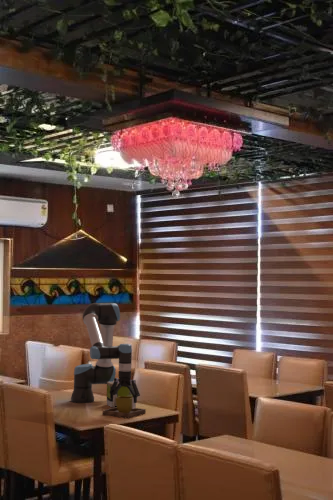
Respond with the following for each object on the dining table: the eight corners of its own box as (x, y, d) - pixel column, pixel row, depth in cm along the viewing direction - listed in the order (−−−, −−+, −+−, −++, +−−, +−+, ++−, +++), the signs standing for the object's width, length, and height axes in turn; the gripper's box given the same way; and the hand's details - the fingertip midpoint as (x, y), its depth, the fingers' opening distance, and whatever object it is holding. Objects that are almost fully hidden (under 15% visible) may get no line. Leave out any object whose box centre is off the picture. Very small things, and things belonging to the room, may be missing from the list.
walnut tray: (102, 414, 388) (102, 410, 388) (120, 410, 403) (120, 406, 403) (127, 418, 378) (128, 413, 378) (145, 413, 393) (145, 409, 394)
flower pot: (115, 413, 387) (115, 397, 388) (120, 411, 396) (120, 395, 396) (129, 414, 385) (129, 398, 386) (134, 412, 393) (134, 396, 394)
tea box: (129, 403, 426) (129, 380, 427) (133, 406, 417) (133, 382, 418) (106, 404, 422) (106, 381, 422) (109, 407, 412) (110, 383, 413)
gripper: (104, 369, 395) (103, 405, 394) (138, 372, 382) (138, 410, 381) (111, 368, 402) (111, 404, 400) (146, 371, 389) (145, 408, 387)
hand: (124, 407), depth 391 cm, fingers open, 13 cm apart
